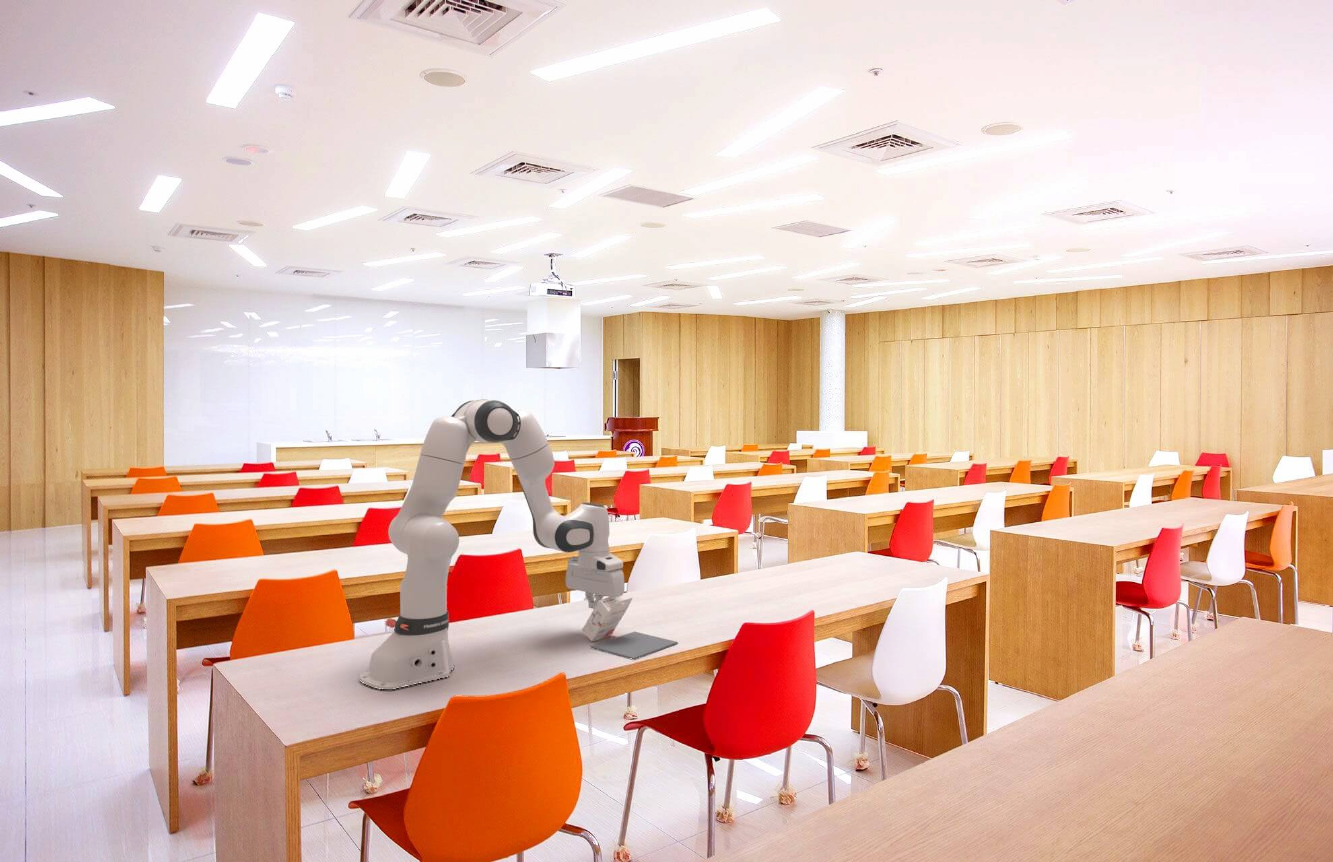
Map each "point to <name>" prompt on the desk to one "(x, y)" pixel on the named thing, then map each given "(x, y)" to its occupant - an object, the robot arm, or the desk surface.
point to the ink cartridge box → (605, 617)
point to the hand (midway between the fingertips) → (594, 608)
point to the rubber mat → (634, 645)
